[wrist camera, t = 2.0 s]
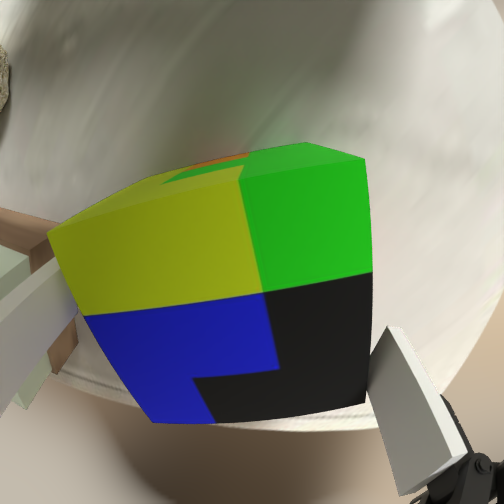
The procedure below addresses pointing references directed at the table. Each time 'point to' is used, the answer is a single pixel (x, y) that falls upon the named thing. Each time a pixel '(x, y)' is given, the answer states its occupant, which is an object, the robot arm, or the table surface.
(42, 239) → the walnut slab
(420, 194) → the table surface
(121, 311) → the puzzle toy
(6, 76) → the decorative item
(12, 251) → the sage slab
